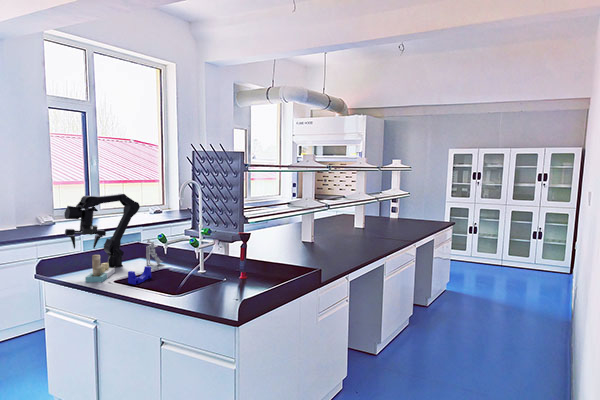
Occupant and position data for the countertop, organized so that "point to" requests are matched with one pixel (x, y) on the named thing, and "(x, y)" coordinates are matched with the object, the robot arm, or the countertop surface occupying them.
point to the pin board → (104, 274)
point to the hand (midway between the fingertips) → (84, 248)
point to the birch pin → (96, 265)
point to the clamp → (152, 254)
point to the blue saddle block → (146, 275)
